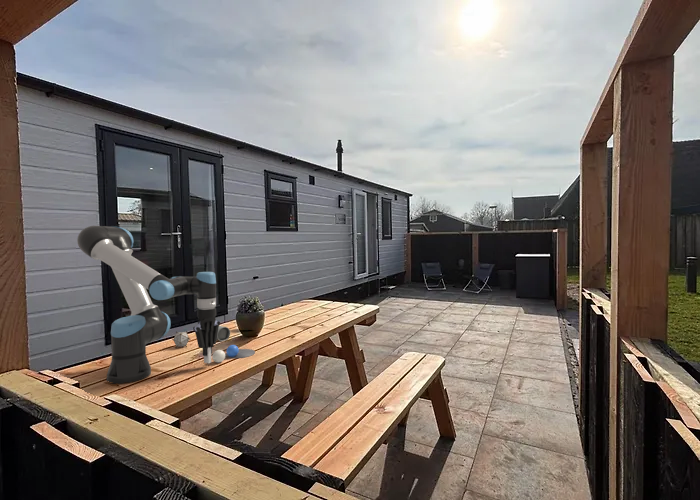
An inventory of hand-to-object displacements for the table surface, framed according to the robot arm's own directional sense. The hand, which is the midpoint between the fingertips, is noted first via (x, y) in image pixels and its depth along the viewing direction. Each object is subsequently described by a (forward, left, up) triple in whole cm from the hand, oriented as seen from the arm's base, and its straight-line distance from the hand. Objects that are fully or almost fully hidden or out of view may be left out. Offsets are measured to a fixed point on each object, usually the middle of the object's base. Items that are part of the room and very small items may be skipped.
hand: (207, 362), depth 154 cm
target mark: (+16, +12, -2) cm, 20 cm away
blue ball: (+12, +9, +1) cm, 15 cm away
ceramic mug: (+9, +42, -2) cm, 43 cm away
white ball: (+5, +4, +1) cm, 7 cm away
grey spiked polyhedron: (-9, +38, -2) cm, 39 cm away
